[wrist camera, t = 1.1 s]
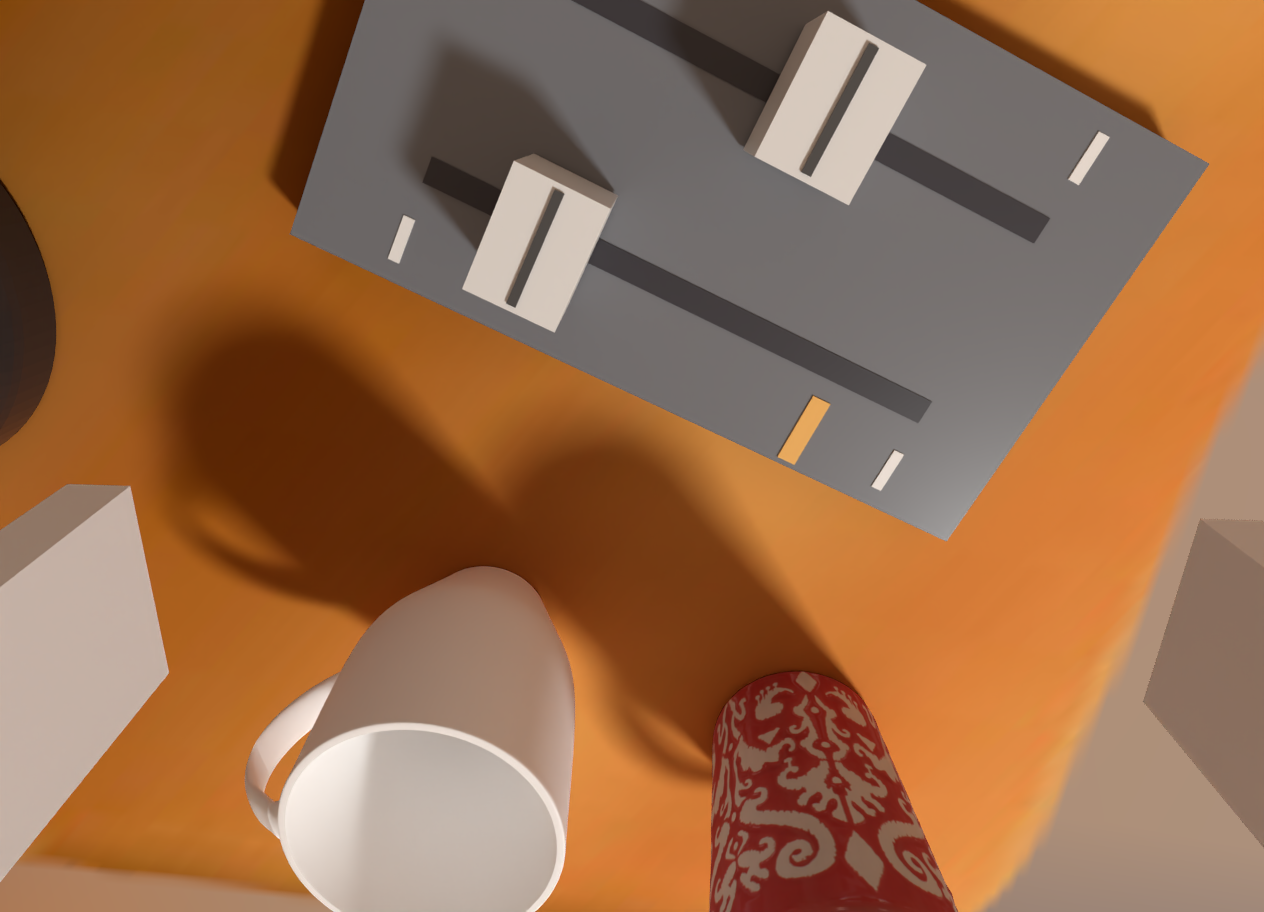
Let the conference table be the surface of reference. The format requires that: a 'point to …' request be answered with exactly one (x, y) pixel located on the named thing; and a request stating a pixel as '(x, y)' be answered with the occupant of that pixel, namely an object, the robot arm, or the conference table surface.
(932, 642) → the conference table surface
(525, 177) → the block
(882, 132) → the fader
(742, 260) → the console
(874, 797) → the mug
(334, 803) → the mug
